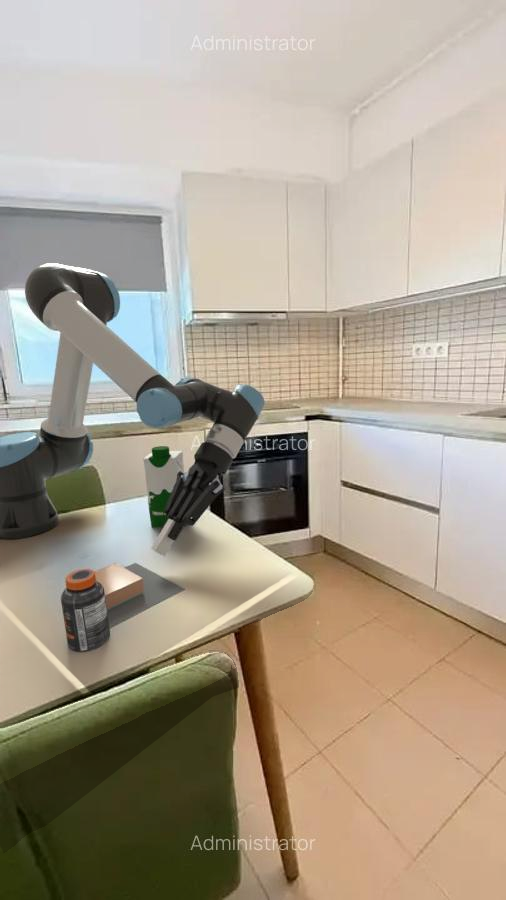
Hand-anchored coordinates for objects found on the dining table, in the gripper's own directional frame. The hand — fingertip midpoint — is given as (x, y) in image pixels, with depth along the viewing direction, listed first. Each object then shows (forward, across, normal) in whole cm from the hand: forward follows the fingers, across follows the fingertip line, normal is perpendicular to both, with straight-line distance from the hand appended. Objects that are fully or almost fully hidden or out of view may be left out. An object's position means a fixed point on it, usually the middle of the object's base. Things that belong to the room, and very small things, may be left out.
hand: (157, 552), depth 85 cm
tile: (+6, 0, -3) cm, 7 cm away
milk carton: (-8, -20, +15) cm, 27 cm away
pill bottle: (+17, +9, -10) cm, 22 cm away
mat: (+9, +1, -3) cm, 10 cm away
